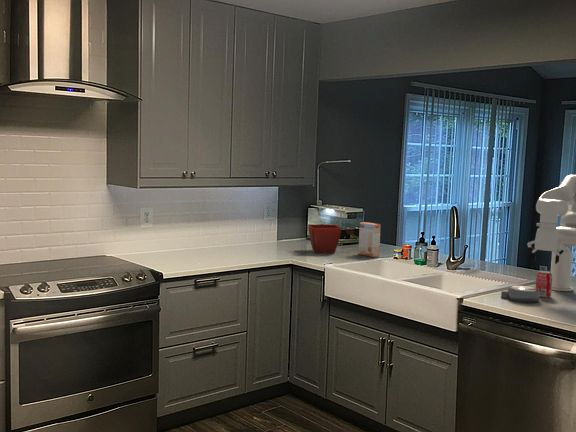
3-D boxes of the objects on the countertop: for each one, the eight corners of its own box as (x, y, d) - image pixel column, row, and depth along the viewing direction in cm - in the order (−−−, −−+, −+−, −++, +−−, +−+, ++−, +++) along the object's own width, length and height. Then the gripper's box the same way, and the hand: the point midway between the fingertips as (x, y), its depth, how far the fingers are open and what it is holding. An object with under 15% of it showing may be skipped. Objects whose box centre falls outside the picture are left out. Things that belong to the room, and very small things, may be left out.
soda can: (547, 294, 307) (548, 270, 305) (553, 298, 300) (555, 273, 298) (532, 294, 306) (534, 270, 305) (538, 297, 299) (540, 272, 298)
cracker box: (379, 257, 402) (381, 224, 400) (372, 257, 399) (374, 224, 396) (365, 253, 414) (366, 221, 411) (357, 254, 410) (359, 222, 408)
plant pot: (307, 249, 425) (307, 224, 423) (335, 249, 427) (336, 224, 425) (311, 253, 406) (312, 227, 404) (340, 254, 408) (341, 228, 407)
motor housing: (504, 294, 305) (505, 283, 304) (541, 299, 297) (542, 287, 296) (499, 299, 292) (499, 288, 292) (537, 305, 285) (538, 293, 284)
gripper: (527, 225, 300) (524, 261, 302) (567, 228, 292) (564, 265, 294) (529, 224, 307) (527, 259, 308) (568, 227, 299) (565, 263, 300)
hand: (545, 262), depth 301 cm, fingers open, 9 cm apart
